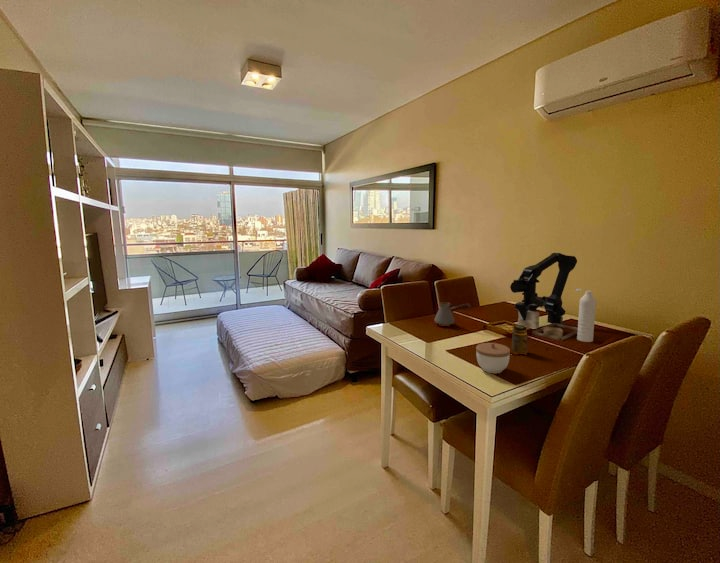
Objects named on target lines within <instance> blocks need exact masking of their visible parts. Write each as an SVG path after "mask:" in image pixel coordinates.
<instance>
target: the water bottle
mask: <svg viewBox="0 0 720 563" xmlns="http://www.w3.org/2000/svg"><path fill="white" fill-rule="evenodd" d="M582 291H583V289H581V288H576V289H575V292H579V293H580V292H582ZM592 293H593V292H592V290H585V293H584V294H583V295H582V296H581V297H580V299H579V307H578V308H579V309H578V316H577V317H578V318H577V319H578V321H577V328H578V332H577V334H576V335H577V336H576V340H577V341H579V342H582V343H583V342H584V343H591V342H594V332H595V331H594V330H595V321H596V320H595V319H596V309H597V308H596V305H597V299H596V298H595V297H594V295H593V294H592Z"/></svg>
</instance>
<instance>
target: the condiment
mask: <svg viewBox="0 0 720 563" xmlns="http://www.w3.org/2000/svg"><path fill="white" fill-rule="evenodd" d="M513 326H514V325H513ZM527 328H528V327H526V326H523V325H517V324H515V326H514V327H513V331H512V336H511V349H512V350H513V351H515V352H518V353H525V352H526V351H527V348H528V346H527V345H528V333H527Z"/></svg>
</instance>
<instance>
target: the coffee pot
mask: <svg viewBox="0 0 720 563" xmlns="http://www.w3.org/2000/svg"><path fill="white" fill-rule="evenodd" d="M438 304H439V307H438V308H439V309H438V311H437V313H436V315H435V317H434V318H433V319H434V320H433V321H434V323H438V324H443V325H448V324H452V325H454V323H455V322H456V320H455V318H454V315H453V313H452V311H451V310H455V309H458V308H463V307H466V306H468V308H470V303H469V302H467V303H462V304H460V305H455V306H453V307H450V306H451V303H450V302H447V301H440V302H439V303H438ZM438 324H437V325H438Z"/></svg>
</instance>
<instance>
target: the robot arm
mask: <svg viewBox="0 0 720 563" xmlns="http://www.w3.org/2000/svg"><path fill="white" fill-rule="evenodd" d="M577 262H578V259H577V257H576V256H574V255H566V254H563V253H561V252H553V253H552V252H551V254H550V255H548V256H547V257H545V258H544V259H541V261H539V262H538V263H536V264H533V265H528V266H526V267H524V268H523V269H522V272H521V274H520V275H519V277H518V278H517V279H513V282H511V284H510V285H509V287H510V290H511V291H510V292H512V293H514V294H515V293H517V294H518V293H522V294H521V295H522V296H523V299H522V300H521V301H519V302H516V303H515V304H514V308H515V309H517V311H518V310H519V312H520V314H521V316H522V318H523V320H524V321H526V317H527V312H528V311H534V312H537V309H539V308H543V307H544V310H545V313H547V322H546V323H549V324H553V323H557V324H562V325H564V323H563V321H564V320H563V319H564V318H563V316H565V314H566V310H565V309H564V308H563V307H562V306H563V299H562V297H563V292H564V289H565V286H566V284H567V280H568V279H569V275H570V272H572V271H573V270H574V269H575V267H576V265H577V264H578V263H577ZM555 263H558V264H557V266H558V272H557V277H556V279H555V281H554V285H553V288H552V291H551V293H550V295H549V296H545V295H544V296H539V294H538V292H536V290H537V284H538V283H540V280H539V279H538V278H539V277H540V276H541V275H542V272H543V271H544V270H546V269H548V268H550V267H552V266H553V265H555Z"/></svg>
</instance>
